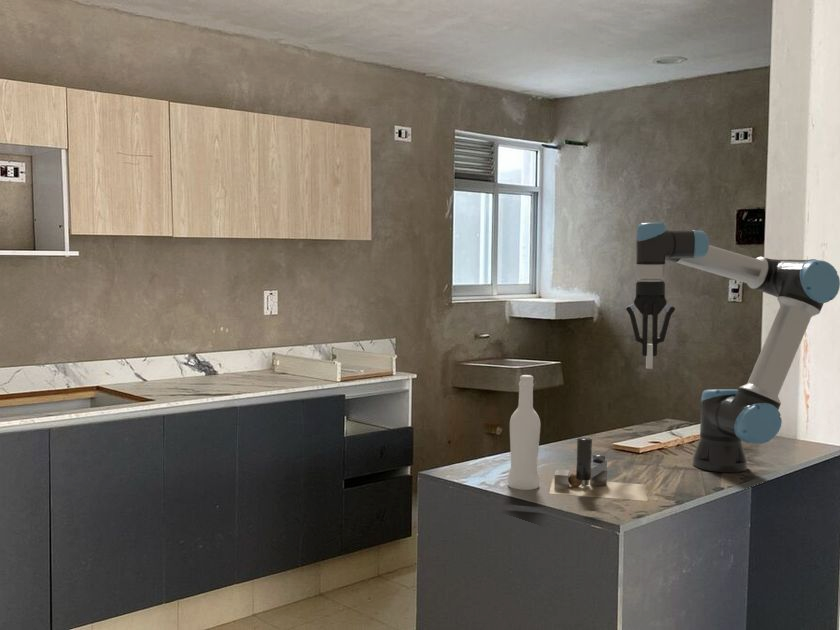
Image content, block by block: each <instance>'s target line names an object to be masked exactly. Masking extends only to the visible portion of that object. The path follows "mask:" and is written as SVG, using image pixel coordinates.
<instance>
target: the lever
mask: <svg viewBox="0 0 840 630" xmlns="http://www.w3.org/2000/svg"><path fill="white" fill-rule="evenodd" d="M576 441H577V442H576V443H577V444H576V472H575V473H576V479H579V480H582V487H585V486H587V485H589V481H590V479H591V478H592V477H594V476H596V475H598V474H599V473H601V472H603V471H604V470H606V471H607V470H608V469H607V468H608V460H607V459H606V455H605V454H599V453H594V454H592V451H593V450H592V449H593V448H592V447H593V438H590V437H578V438H577V439H576Z"/></svg>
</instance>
